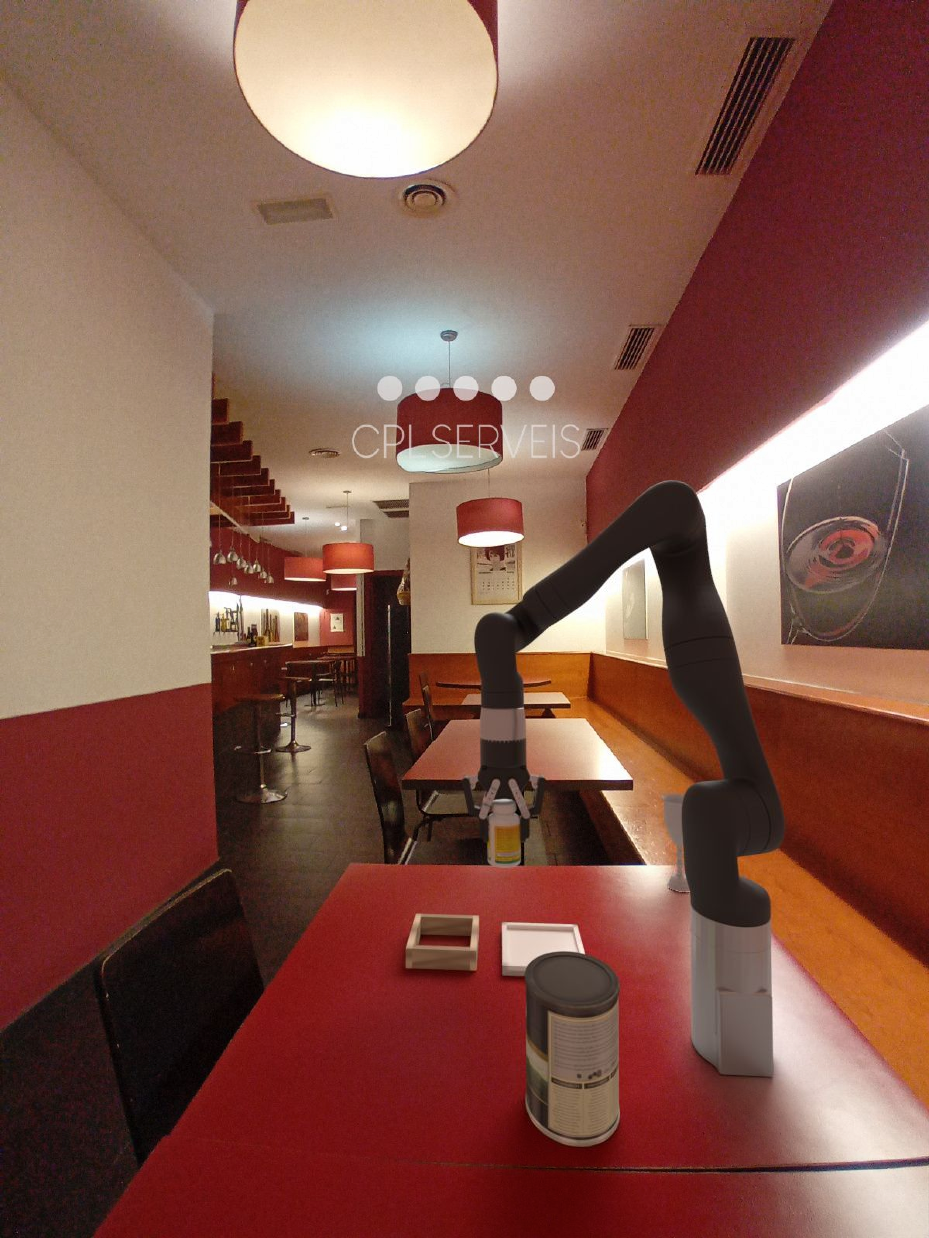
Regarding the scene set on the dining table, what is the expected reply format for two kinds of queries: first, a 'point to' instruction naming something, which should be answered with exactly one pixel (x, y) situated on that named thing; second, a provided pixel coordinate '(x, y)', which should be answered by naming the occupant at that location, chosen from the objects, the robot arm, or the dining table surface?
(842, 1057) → the dining table surface
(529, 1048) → the coffee can
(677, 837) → the chalice
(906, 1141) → the dining table surface
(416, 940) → the oak holder
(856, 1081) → the dining table surface
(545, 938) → the ceramic tray
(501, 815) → the supplement bottle
